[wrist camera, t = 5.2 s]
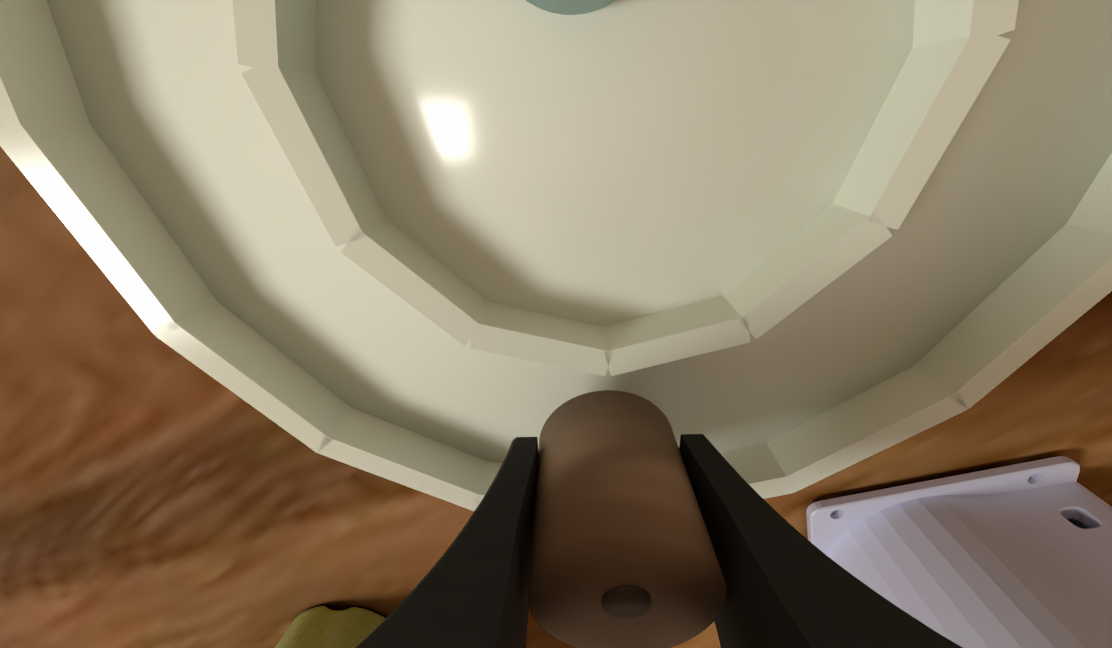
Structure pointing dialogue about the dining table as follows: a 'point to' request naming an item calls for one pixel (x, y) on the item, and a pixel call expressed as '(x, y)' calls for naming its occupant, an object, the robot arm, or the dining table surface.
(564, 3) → the teal bead
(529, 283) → the groove tray
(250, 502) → the dining table surface
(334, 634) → the plant pot
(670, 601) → the walnut bead
